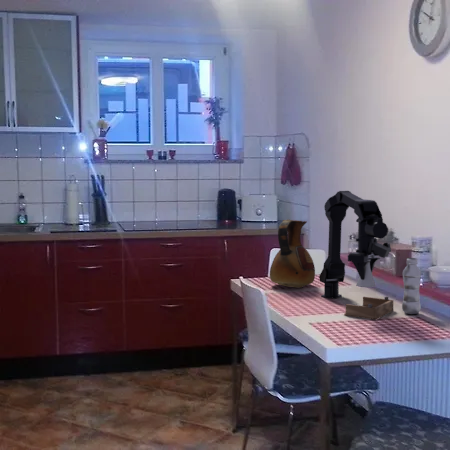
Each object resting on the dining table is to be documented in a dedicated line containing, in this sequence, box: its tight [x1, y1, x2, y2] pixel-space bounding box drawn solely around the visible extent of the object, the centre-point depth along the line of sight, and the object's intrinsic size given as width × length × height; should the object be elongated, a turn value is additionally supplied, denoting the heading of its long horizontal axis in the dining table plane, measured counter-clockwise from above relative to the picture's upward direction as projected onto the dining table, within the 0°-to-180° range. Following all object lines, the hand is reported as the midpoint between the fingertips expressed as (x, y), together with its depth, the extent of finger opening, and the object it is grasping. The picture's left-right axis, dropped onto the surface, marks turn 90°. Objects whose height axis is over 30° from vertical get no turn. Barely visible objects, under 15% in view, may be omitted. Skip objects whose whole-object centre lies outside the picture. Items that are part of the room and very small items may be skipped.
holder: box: [343, 296, 395, 321], centre depth 229 cm, size 16×12×5 cm
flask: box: [355, 258, 377, 289], centre depth 228 cm, size 7×7×10 cm
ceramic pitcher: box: [269, 218, 316, 289], centre depth 278 cm, size 20×20×30 cm
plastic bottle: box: [401, 257, 422, 315], centre depth 226 cm, size 6×7×20 cm
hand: (366, 278), depth 228 cm, fingers closed on flask, 5 cm apart
